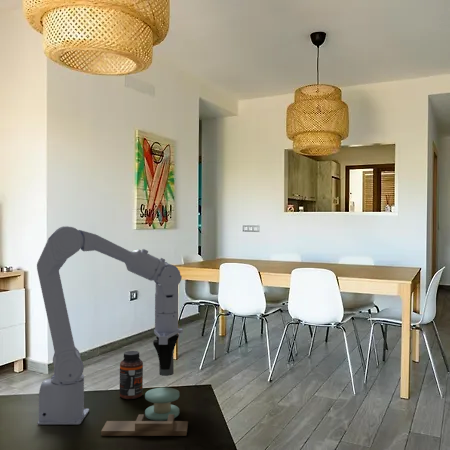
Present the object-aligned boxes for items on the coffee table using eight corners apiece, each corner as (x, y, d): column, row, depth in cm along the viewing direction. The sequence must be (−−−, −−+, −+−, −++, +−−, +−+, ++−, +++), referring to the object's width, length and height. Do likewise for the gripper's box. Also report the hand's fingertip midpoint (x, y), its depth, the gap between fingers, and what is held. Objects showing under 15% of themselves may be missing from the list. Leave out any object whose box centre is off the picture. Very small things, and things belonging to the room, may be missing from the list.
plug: (158, 376, 115) (158, 351, 115) (159, 371, 118) (159, 347, 119) (173, 375, 115) (173, 351, 115) (174, 371, 119) (174, 347, 119)
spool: (142, 420, 107) (142, 399, 107) (147, 407, 115) (147, 387, 115) (177, 420, 107) (177, 399, 107) (180, 407, 115) (180, 387, 115)
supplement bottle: (137, 401, 119) (137, 356, 119) (115, 399, 120) (115, 354, 120) (146, 392, 125) (146, 350, 125) (125, 390, 126) (125, 348, 126)
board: (101, 435, 99) (101, 423, 99) (106, 425, 104) (106, 414, 104) (186, 435, 100) (186, 424, 100) (187, 425, 105) (188, 414, 105)
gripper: (180, 317, 110) (180, 375, 110) (184, 306, 124) (184, 358, 124) (150, 317, 109) (149, 375, 109) (157, 306, 124) (157, 358, 124)
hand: (166, 366), depth 117 cm, fingers closed on plug, 4 cm apart
